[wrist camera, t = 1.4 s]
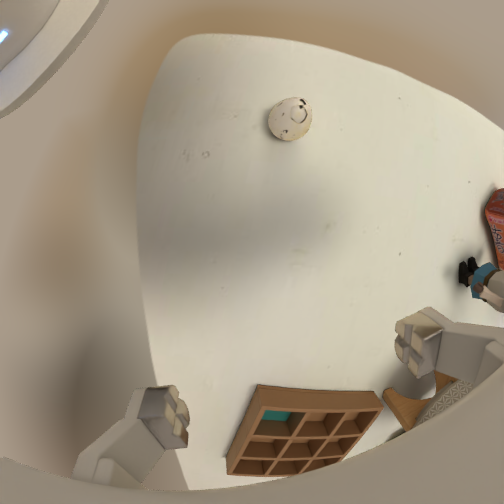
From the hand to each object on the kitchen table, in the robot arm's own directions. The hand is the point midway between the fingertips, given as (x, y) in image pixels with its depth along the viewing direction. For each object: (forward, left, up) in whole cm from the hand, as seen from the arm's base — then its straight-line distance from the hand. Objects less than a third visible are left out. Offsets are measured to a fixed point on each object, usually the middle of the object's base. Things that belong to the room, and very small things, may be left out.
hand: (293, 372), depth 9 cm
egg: (0, +11, -16) cm, 19 cm away
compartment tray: (+13, -22, -15) cm, 29 cm away
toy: (+28, +4, -16) cm, 32 cm away
